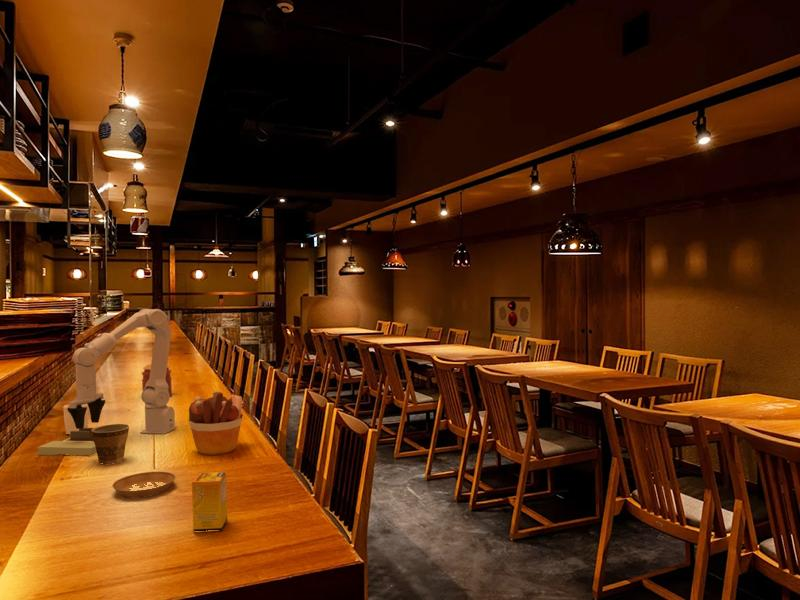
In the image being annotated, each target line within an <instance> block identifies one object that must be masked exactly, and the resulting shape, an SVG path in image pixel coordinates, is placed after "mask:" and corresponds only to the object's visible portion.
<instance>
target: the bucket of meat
mask: <svg viewBox="0 0 800 600" xmlns="http://www.w3.org/2000/svg"><path fill="white" fill-rule="evenodd" d="M242 407H243V397H242V395H236V394H231V396H230V398H227V397H226V396H224V394H223V392H220V391H217V390H216V391H213V392H212V396H211V397H208V398H207V399H206V398H205V399H204V398H202V397H201V396H198V395H197V396H196V397H195V398H194V401H193V402H192V403H190V405H189V408H188V424H189V427H190V429H191V434H192V438H193V441H194V445H195V449H196V451H198V452H199V453H200V454H202V455H203V454H204V456H218V455H219V456H220V455H224V454H225V455H226V454H229V453H231V452H233V451H234V450H235V449H236V448H237V445H238V440H239V435H240V429H241V425H242V420H243V413H242V410H243V409H242Z"/></svg>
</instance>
